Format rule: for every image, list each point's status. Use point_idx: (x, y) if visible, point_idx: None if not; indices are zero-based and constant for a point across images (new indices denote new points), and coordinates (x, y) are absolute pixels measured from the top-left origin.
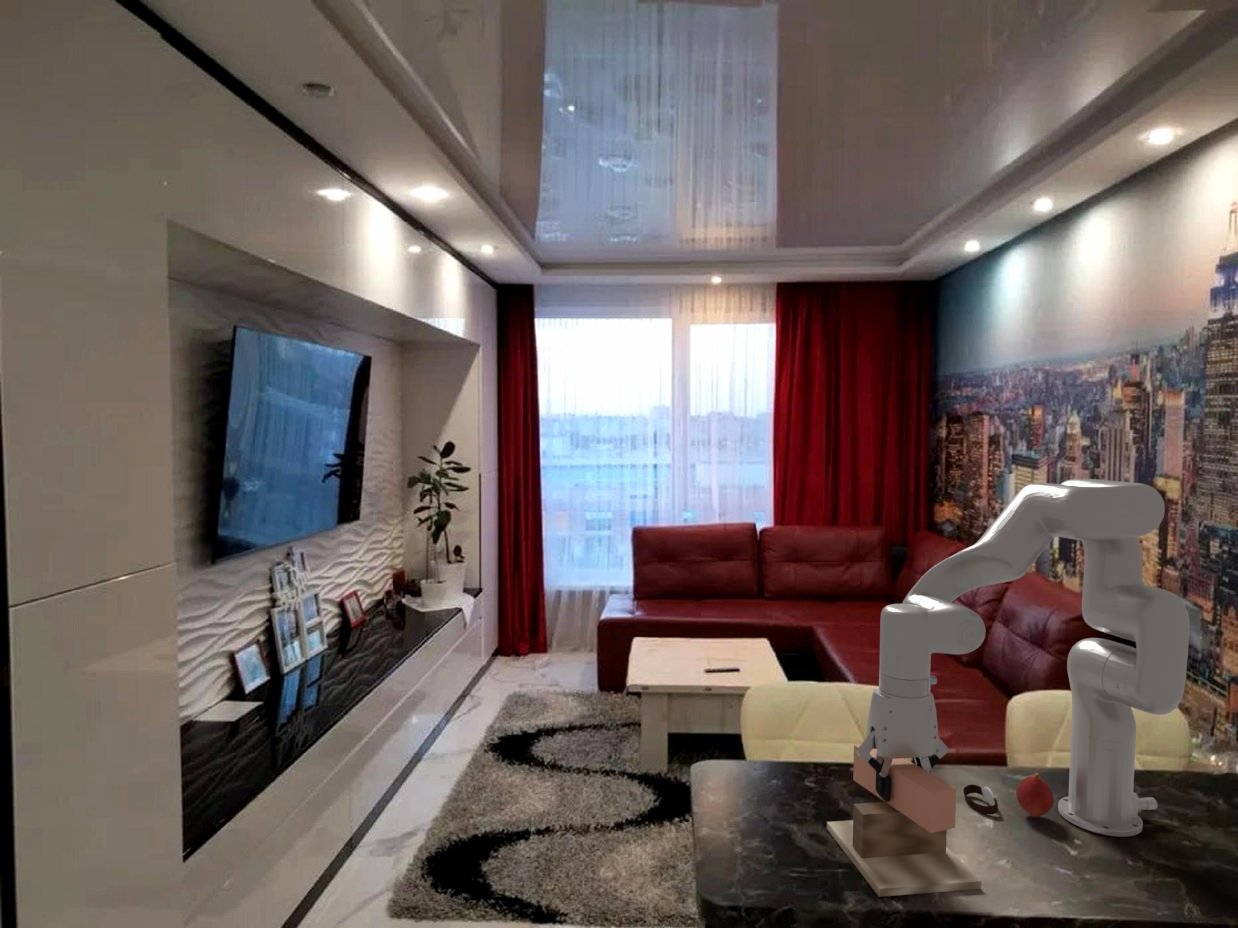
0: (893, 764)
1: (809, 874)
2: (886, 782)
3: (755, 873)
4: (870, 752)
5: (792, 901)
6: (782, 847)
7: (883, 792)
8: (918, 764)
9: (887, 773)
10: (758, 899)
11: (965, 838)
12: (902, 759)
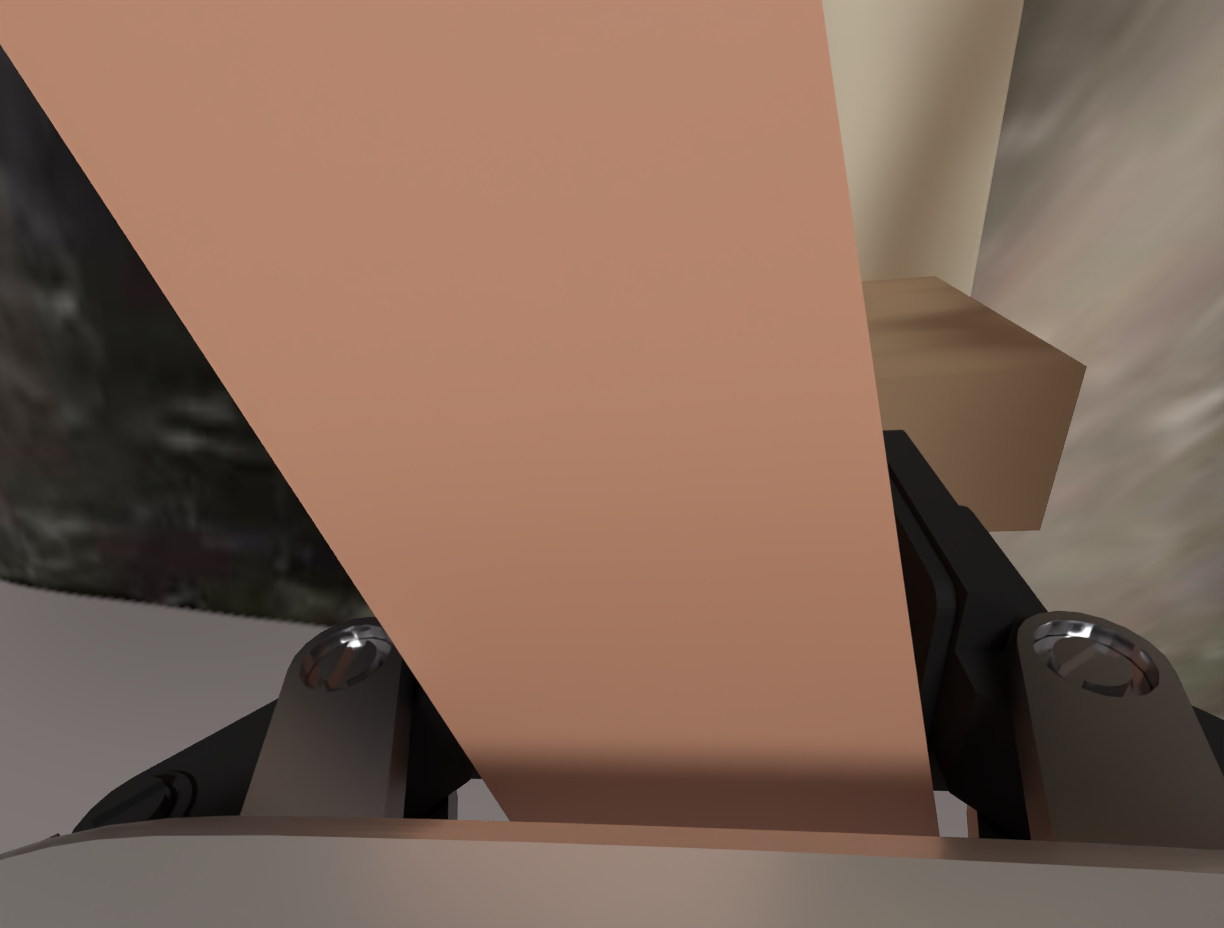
0: (577, 751)
1: (244, 446)
2: None
3: (33, 426)
4: (270, 296)
5: (192, 578)
6: (105, 228)
7: None
8: (1010, 736)
9: (453, 803)
10: (81, 561)
11: (1210, 159)
12: (826, 632)
